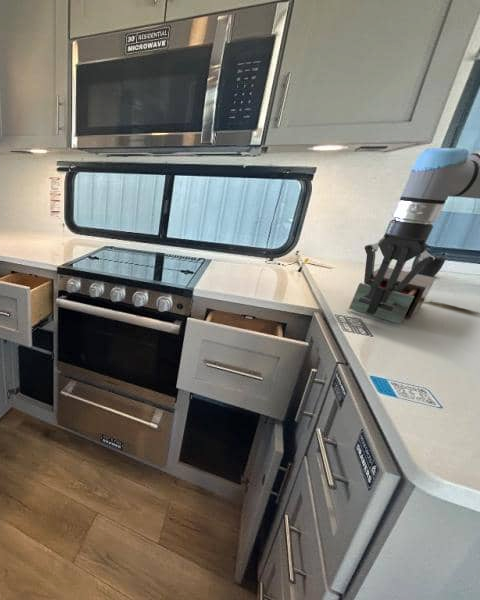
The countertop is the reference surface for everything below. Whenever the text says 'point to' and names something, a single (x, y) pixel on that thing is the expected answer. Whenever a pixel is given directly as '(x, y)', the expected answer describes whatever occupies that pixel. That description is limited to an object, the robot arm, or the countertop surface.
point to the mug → (430, 266)
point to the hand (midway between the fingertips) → (370, 312)
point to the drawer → (389, 310)
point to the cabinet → (417, 282)
